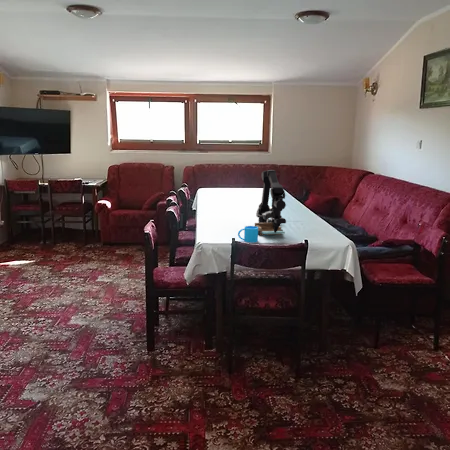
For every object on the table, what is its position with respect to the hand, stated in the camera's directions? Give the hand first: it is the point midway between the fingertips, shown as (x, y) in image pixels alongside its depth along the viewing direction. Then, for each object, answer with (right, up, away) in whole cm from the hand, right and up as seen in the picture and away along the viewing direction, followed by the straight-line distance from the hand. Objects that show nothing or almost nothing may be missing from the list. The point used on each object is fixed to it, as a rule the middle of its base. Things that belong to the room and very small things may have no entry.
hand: (275, 232), depth 256 cm
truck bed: (-3, -1, +13) cm, 13 cm away
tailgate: (-2, 0, +6) cm, 6 cm away
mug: (-17, -5, -8) cm, 20 cm away
